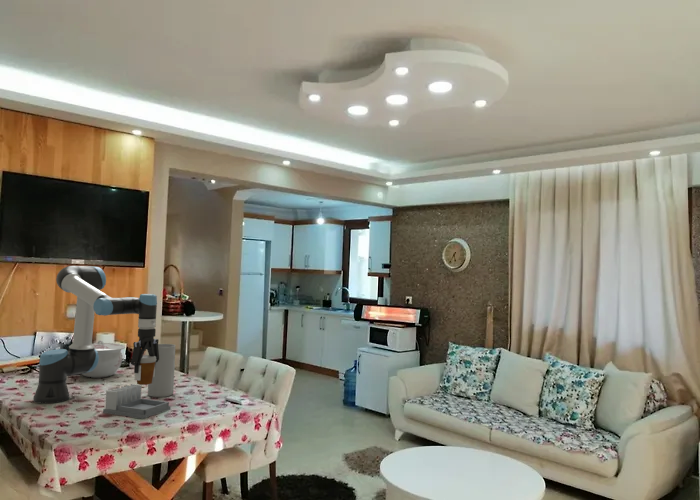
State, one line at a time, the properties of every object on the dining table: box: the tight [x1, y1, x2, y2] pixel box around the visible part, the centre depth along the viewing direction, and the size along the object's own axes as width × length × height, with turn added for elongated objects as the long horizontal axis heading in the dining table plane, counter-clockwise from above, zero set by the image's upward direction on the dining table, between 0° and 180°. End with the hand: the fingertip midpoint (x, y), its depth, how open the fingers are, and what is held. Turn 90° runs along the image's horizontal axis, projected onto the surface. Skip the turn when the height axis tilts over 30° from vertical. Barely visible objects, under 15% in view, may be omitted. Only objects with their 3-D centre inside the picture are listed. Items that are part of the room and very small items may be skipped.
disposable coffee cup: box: [136, 354, 157, 386], centre depth 245 cm, size 10×10×12 cm
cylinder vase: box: [147, 343, 176, 398], centre depth 278 cm, size 12×12×25 cm
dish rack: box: [102, 383, 171, 420], centre depth 246 cm, size 22×18×10 cm
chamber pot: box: [82, 340, 126, 379], centre depth 320 cm, size 28×28×21 cm
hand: (144, 378), depth 245 cm, fingers closed on disposable coffee cup, 8 cm apart
